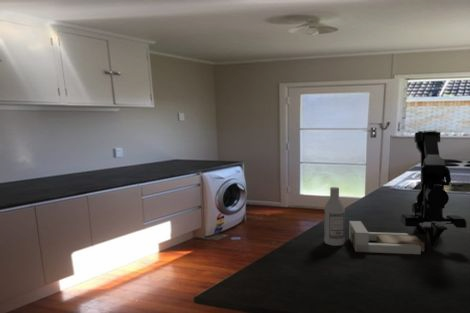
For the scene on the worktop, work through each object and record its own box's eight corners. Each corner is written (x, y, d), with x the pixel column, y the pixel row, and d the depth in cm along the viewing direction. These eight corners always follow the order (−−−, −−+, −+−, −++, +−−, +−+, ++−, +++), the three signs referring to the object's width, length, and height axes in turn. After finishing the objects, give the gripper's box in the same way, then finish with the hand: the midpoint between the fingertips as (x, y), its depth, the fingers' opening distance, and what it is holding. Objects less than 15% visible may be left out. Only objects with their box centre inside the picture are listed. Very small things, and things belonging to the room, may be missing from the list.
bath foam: (348, 244, 122) (349, 188, 120) (333, 247, 119) (333, 190, 117) (335, 238, 128) (335, 185, 127) (320, 241, 125) (320, 187, 124)
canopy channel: (406, 240, 125) (407, 222, 125) (420, 254, 111) (421, 234, 111) (349, 238, 129) (349, 220, 128) (355, 251, 115) (356, 232, 114)
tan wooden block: (415, 244, 122) (415, 235, 122) (424, 252, 114) (424, 243, 114) (376, 243, 124) (376, 234, 124) (382, 251, 116) (383, 242, 116)
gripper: (452, 195, 122) (451, 238, 124) (396, 195, 125) (395, 237, 127) (468, 202, 111) (466, 250, 113) (406, 201, 114) (405, 247, 116)
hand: (431, 245), depth 117 cm, fingers closed
